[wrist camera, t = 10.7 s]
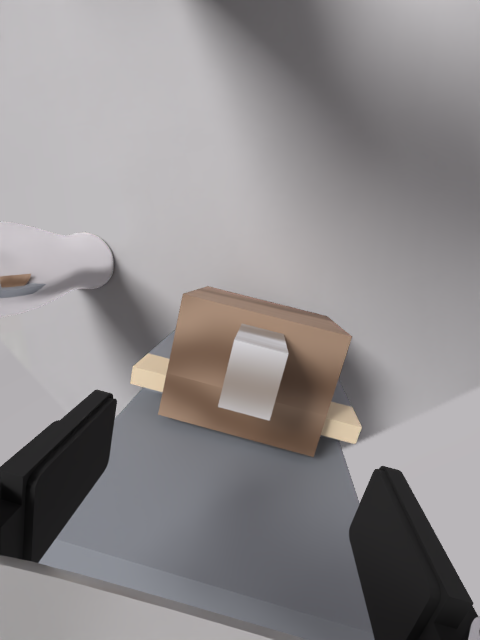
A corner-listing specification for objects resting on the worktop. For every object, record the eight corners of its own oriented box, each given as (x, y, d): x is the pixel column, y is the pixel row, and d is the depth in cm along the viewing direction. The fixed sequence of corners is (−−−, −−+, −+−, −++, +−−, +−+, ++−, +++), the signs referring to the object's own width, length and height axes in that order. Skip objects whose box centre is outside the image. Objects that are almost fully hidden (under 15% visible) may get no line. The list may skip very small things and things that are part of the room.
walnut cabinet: (207, 286, 30) (158, 301, 17) (327, 316, 30) (377, 357, 16) (188, 374, 32) (128, 454, 18) (300, 404, 32) (326, 509, 18)
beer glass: (122, 236, 33) (0, 229, 18) (114, 299, 34) (-1, 339, 20) (60, 221, 33) (-108, 204, 18) (56, 284, 35) (-100, 313, 20)
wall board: (176, 328, 34) (19, 464, 13) (334, 369, 34) (437, 584, 12) (168, 372, 36) (14, 559, 15) (319, 412, 35) (389, 672, 14)
